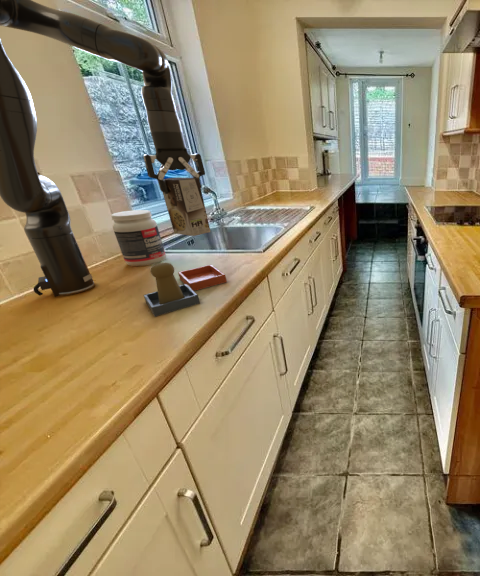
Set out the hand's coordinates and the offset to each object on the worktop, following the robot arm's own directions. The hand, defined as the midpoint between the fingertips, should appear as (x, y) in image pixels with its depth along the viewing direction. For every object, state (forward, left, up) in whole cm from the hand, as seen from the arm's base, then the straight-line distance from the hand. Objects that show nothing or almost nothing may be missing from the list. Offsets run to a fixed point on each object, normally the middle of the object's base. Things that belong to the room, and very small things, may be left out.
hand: (182, 192), depth 94 cm
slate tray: (-12, -14, -27) cm, 33 cm away
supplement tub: (-10, +33, -28) cm, 44 cm away
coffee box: (0, 0, -12) cm, 12 cm away
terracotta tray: (-1, -2, -27) cm, 28 cm away
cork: (-12, -14, -27) cm, 33 cm away
